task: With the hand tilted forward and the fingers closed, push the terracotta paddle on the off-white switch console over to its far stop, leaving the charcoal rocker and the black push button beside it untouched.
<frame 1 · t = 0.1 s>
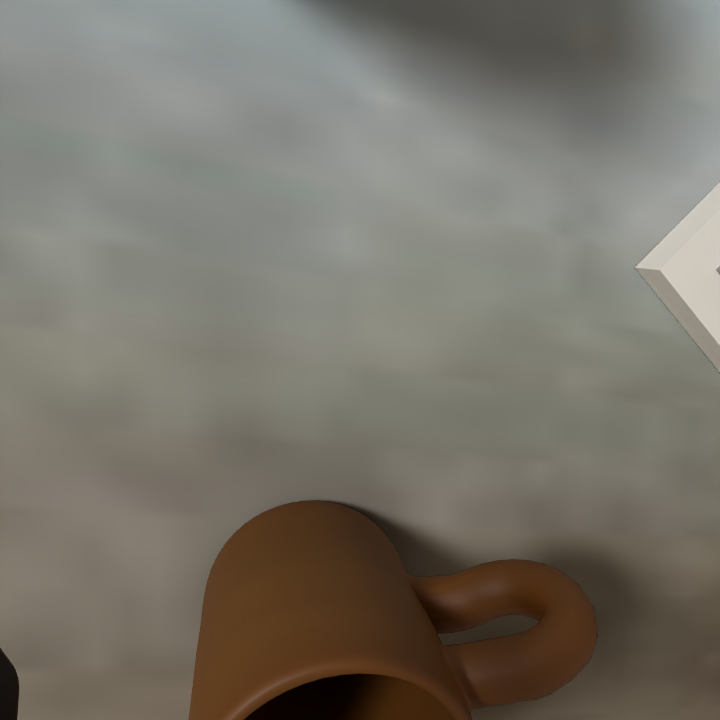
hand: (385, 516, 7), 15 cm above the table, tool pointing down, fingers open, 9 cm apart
mug: (355, 557, 25), on the table
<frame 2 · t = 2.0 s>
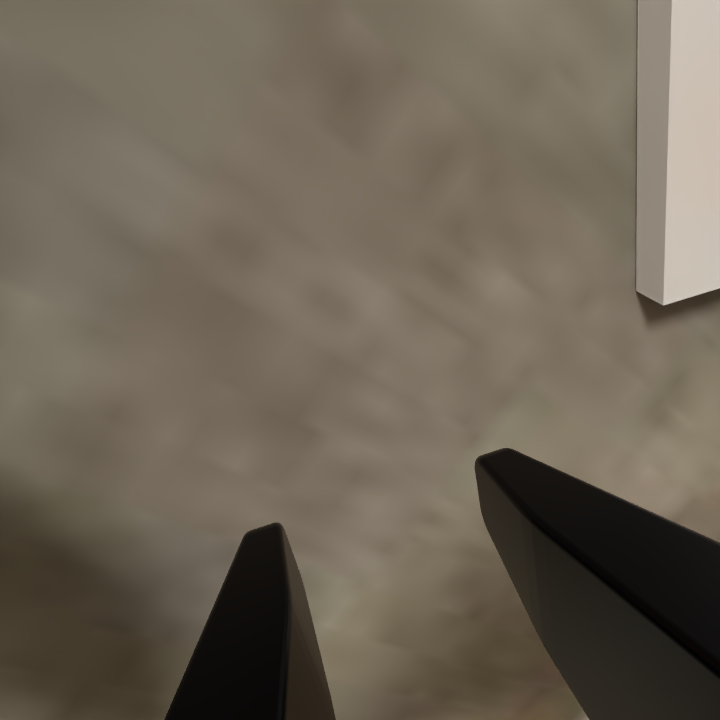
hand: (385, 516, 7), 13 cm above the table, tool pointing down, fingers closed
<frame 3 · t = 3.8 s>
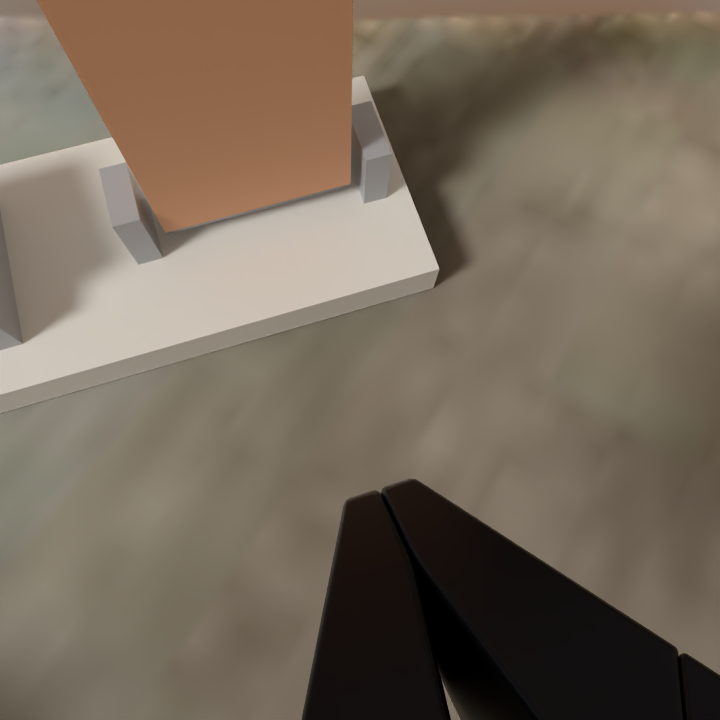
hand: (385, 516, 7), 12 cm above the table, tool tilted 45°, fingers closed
switch console: (263, 227, 22), on the table
paddle: (227, 81, 16), point 7 cm above the table, hinge at 0.0°
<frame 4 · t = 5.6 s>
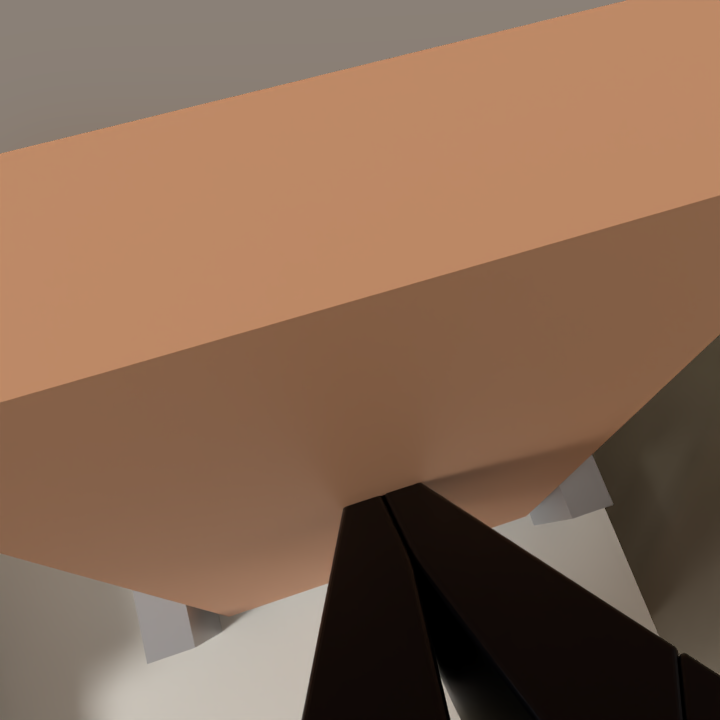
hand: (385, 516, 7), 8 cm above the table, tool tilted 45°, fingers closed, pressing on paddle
switch console: (365, 532, 15), on the table
paddle: (366, 460, 8), point 7 cm above the table, hinge at 8.2°, touching gripper
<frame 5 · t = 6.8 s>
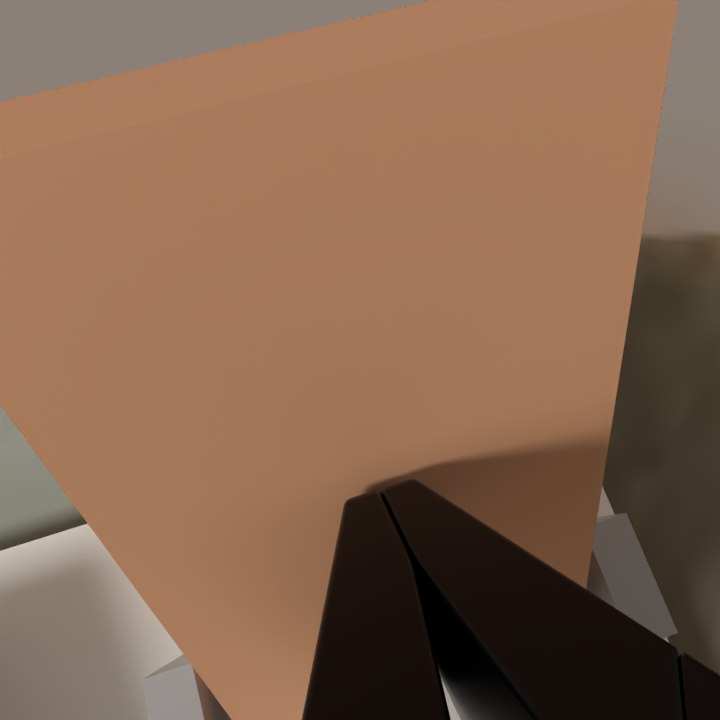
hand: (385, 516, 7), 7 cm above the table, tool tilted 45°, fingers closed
switch console: (396, 628, 14), on the table
paddle: (371, 483, 8), point 6 cm above the table, hinge at 33.6°
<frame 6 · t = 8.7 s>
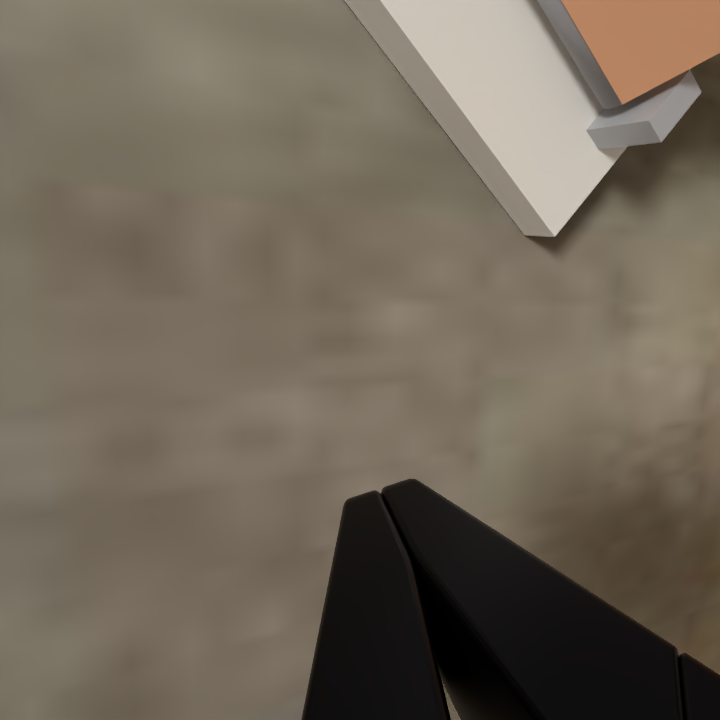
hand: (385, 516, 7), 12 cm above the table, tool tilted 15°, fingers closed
switch console: (516, 27, 20), on the table
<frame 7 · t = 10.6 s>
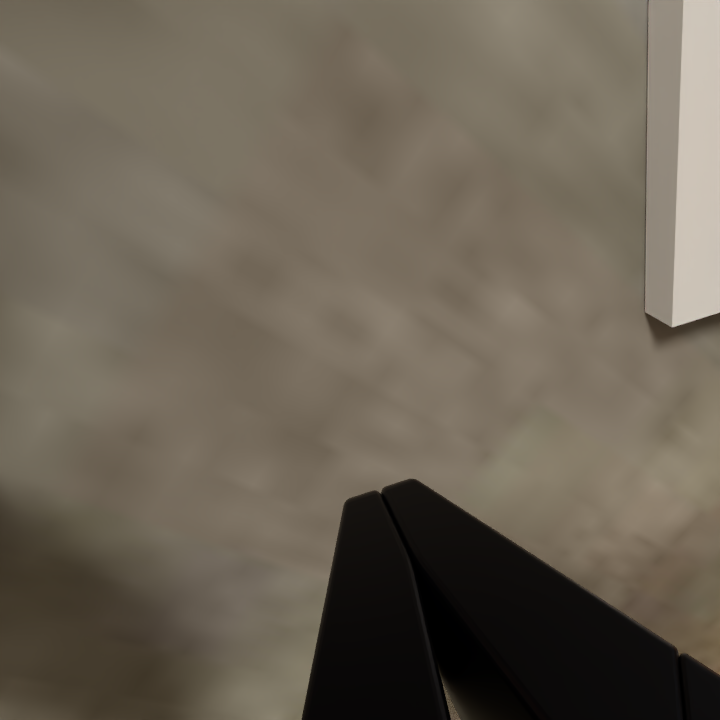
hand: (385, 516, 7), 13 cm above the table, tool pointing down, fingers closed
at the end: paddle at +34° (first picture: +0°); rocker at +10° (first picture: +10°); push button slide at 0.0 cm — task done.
